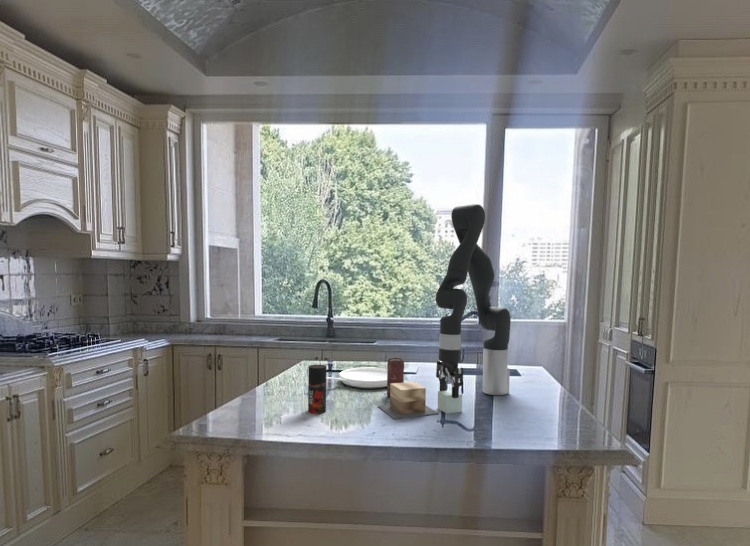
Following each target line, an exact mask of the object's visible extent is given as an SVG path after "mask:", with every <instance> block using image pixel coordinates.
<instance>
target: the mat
mask: <svg viewBox="0 0 750 546" xmlns="http://www.w3.org/2000/svg"><path fill="white" fill-rule="evenodd" d="M377 408H379V409H380V410H381V411H383V412H384V413H385V414H386V415H388V416H389V417H390V418H392V419H393V420H399V419H401V420H402V419H406V418H407V419H408V418H416V417H417V418H418V417H424V416H425V417H426V416H434V415H439V412H437V411H435V410H434V409H432V408H431V407H429V406H427V405H426V404H425V412H420V413H411V414H401V415H400V414H399V413H398V412H396V411H395V410H394V409H392V408H391V407H390V404H382V405H377Z"/></svg>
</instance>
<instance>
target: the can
mask: <svg viewBox="0 0 750 546" xmlns="http://www.w3.org/2000/svg"><path fill="white" fill-rule="evenodd" d="M386 365H387V368H386V369H387V387H386V395H387V398H389V399H390V384H391V383H404V382H405V380H404V377H405V375H404V374H405V361H404V359H403V358H398V357H392V358H388V360H387V363H386Z"/></svg>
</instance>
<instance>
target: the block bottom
mask: <svg viewBox="0 0 750 546" xmlns="http://www.w3.org/2000/svg"><path fill="white" fill-rule="evenodd" d="M426 401H427V399H426V400H420V401H410V402H399V401H398V400H397V399H395V398H394V397H392V396H391V395H390V398H389V405H390V407H391V408H392V409H394V410H395V411H396V412H398V413H399V414H400V415H401V414H411V413H420V412H425V405H426Z"/></svg>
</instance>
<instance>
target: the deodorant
mask: <svg viewBox="0 0 750 546" xmlns="http://www.w3.org/2000/svg"><path fill="white" fill-rule="evenodd" d="M326 377H327V365H324V364H310V365H308V380H307V382H308V387H307V388H308V389H307V391H308V392H307V393H308V394H307V400H308V402H307V413H308V414H313V415H316V414H317V415H319V414H324V413H326V412H327V379H326Z"/></svg>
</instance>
